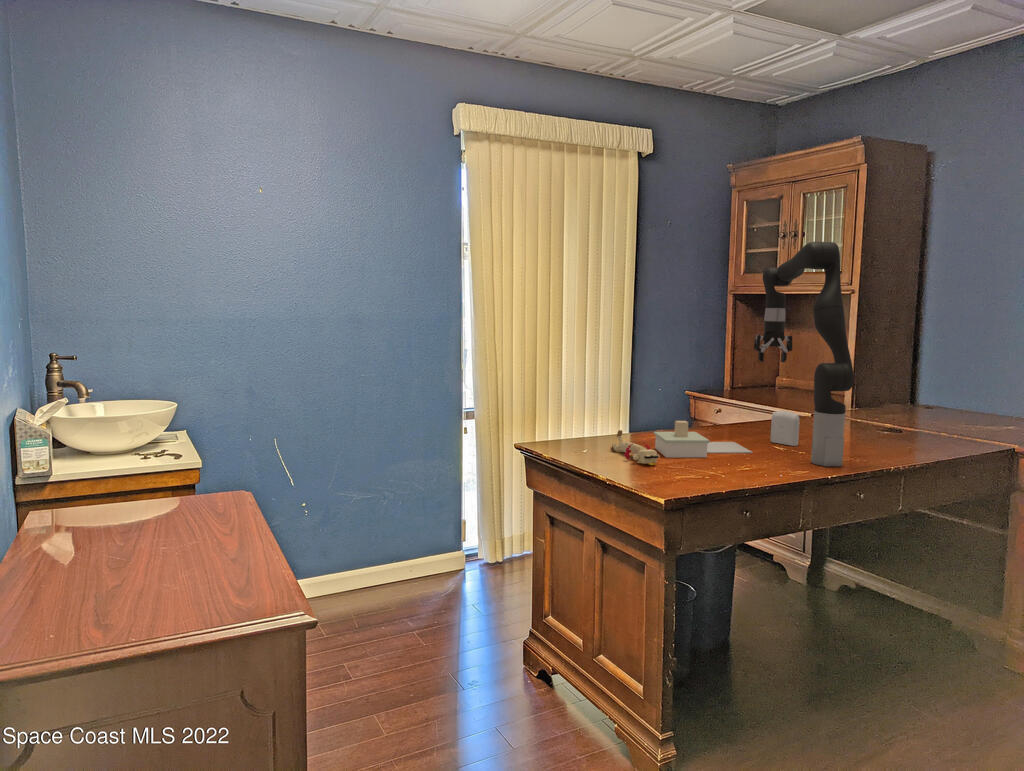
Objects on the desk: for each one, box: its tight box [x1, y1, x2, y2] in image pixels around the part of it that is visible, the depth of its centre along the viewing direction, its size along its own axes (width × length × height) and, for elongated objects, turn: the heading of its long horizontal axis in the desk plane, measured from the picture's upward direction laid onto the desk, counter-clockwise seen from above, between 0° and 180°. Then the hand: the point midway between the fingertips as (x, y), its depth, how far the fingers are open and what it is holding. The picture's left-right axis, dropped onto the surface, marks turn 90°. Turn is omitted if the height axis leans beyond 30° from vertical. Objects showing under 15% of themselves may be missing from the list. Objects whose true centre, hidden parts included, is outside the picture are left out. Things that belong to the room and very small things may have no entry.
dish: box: [654, 436, 708, 459], centre depth 245 cm, size 14×14×5 cm
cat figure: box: [610, 429, 661, 466], centre depth 236 cm, size 10×9×25 cm
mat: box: [707, 441, 753, 454], centre depth 255 cm, size 17×17×1 cm
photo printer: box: [770, 410, 800, 447], centre depth 263 cm, size 10×4×12 cm, turn 39°
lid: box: [653, 420, 711, 443], centre depth 245 cm, size 15×15×6 cm
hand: (772, 362), depth 274 cm, fingers open, 8 cm apart
